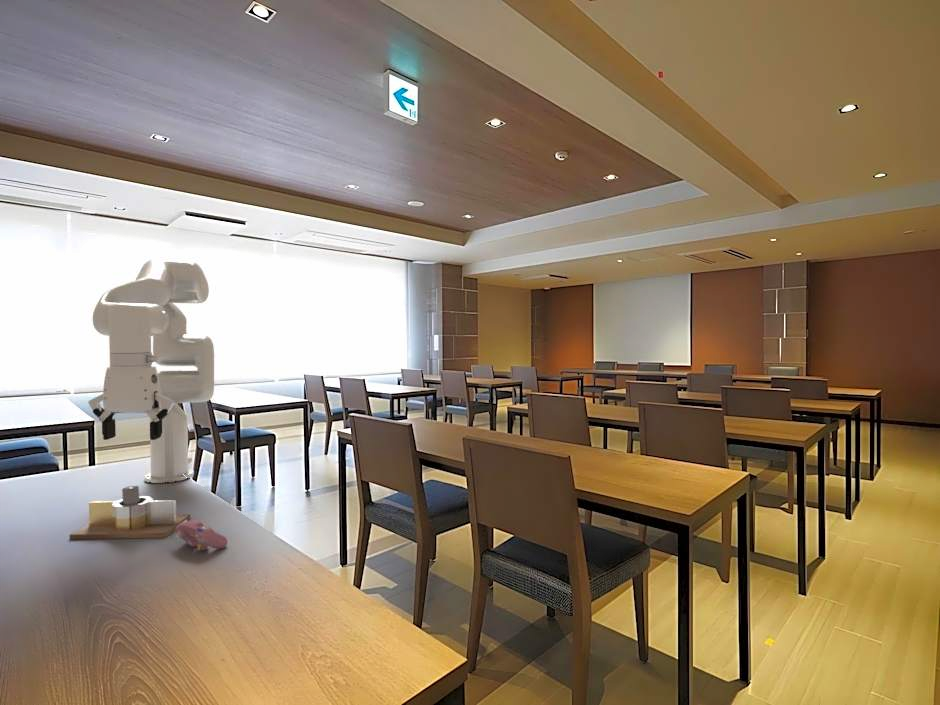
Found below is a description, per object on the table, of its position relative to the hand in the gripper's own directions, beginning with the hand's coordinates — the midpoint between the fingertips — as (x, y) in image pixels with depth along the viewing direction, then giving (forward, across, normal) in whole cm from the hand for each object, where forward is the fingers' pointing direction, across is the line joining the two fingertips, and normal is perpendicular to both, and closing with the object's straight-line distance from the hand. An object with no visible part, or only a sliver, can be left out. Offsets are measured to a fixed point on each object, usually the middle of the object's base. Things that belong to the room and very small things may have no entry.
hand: (132, 438), depth 111 cm
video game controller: (+20, -19, +12) cm, 30 cm away
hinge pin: (+19, 0, +1) cm, 19 cm away
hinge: (+20, 0, +1) cm, 20 cm away
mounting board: (+20, 0, +1) cm, 20 cm away
